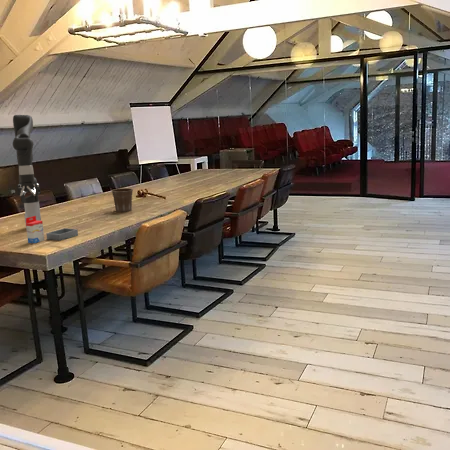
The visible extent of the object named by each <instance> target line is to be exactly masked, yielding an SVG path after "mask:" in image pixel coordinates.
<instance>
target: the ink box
mask: <svg viewBox="0 0 450 450" xmlns="http://www.w3.org/2000/svg"><path fill="white" fill-rule="evenodd" d="M32 218H33V219H32ZM29 219H32V220H29ZM25 228H26V229H25V230H26V236H27V243H28V244H37V243H40V242H43V241H45V233H44V224H43V220H41V221H36V216H32V217H28V218H26V223H25Z"/></svg>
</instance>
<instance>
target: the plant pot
mask: <svg viewBox="0 0 450 450" xmlns="http://www.w3.org/2000/svg"><path fill="white" fill-rule="evenodd" d="M133 190H134V188H127V187H126V188H125V187H124V188H123V187H121V188H115V189H112V190H111V193H112V197H113V203H114V208H115V212H120V213H124V212H125V213H126V212H129V211H132V210H133V207H132V205H133V192H134V191H133Z"/></svg>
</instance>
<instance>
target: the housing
mask: <svg viewBox="0 0 450 450" xmlns="http://www.w3.org/2000/svg"><path fill="white" fill-rule="evenodd" d="M77 236H79V231H78V229H77V228H68V227H67V228H66V227H65V228H60V229H57V230H53V231H50V232H46V240H50V241H51V240H52V241H59V242H60V241H64V240H67V239H70V238H74V237H77Z"/></svg>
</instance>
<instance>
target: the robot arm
mask: <svg viewBox="0 0 450 450" xmlns="http://www.w3.org/2000/svg"><path fill="white" fill-rule="evenodd" d="M32 117H33V116H31V115H29V114H14V115H13V117H12V123H13V130H14V136H15V137H14V138H13V140H12V147H13V149H14V150H15V152H16V158H17V159H16V160H17V167H18V184H16V195H17V196H19V197H20V200H21V203H23V206H24V223H25V224H26V218H28V217H32V216H36V221H42V217H41V216H42V215H41V209H40V199H39V195H41V185H40V183H38V181H37V178H36V177H35V173H34V167H33V161H34V157H33V156H34V155H33V148H34V141H33V139H32V138H31V133H32V131H33V128H34V121H33V118H32ZM26 193H30V194H29V195H28V196H25V195H26ZM32 219H33V218H32ZM32 219H29V220H32Z"/></svg>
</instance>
